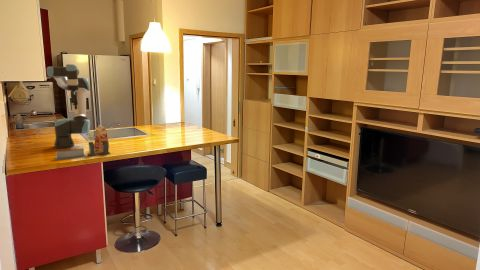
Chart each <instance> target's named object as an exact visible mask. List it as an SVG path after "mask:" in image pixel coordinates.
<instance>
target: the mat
mask: <svg viewBox="0 0 480 270" xmlns="http://www.w3.org/2000/svg"><path fill="white" fill-rule="evenodd" d="M81 157H82V158H87V156H86V154H85V153H84V156H79V157H71V158H62V159H57V156H56V157H55V161H64V159H65V160H71V159H72V160H73V159H80V158H81Z"/></svg>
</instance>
